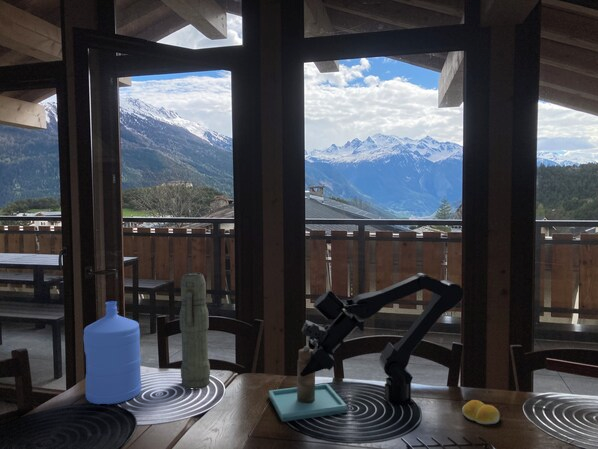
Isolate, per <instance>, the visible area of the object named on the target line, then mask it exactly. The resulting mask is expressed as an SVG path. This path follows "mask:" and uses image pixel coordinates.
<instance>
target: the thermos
mask: <svg viewBox="0 0 598 449" xmlns="http://www.w3.org/2000/svg"><path fill="white" fill-rule="evenodd" d="M180 297H181V298H180V300H181V305H180V306H181V307H180V310H179V329H180V332H181V355H182V356H181V357H182V358H181V359H182V363H181V366H180V378H181V386H183V387H182V388H184V387H185V388H184V389H186V388H194V389H193V390H197V389H196V388H200V389H203V388H202V387H204V388H206V387H208V386H209V385H210V375H211V364H210V360H209V348H208V346H209V345H208V330H209V327H210V326H209V323H210V322H209V321H210V320H209V319H210V318H209V310H208V306H207V302H206V301H207V300H206V299H207V282H206V279H205V276H204V274H203V273H201V272H187V273H185V274H184V275H183V276H182V278H181V282H180ZM208 384H209V385H208ZM207 385H208V386H207ZM205 386H206V387H205Z"/></svg>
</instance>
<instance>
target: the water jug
mask: <svg viewBox="0 0 598 449" xmlns="http://www.w3.org/2000/svg"><path fill="white" fill-rule="evenodd" d="M104 304H105V316H103V317H102V318H100V319H98V320H96V321H94V322H92V323H91V324H89V325H87V326H85V328H84V329H83V338H82V339H83V346H84V354H85V368H86V374H85V391H84V392H85V399H86V400H87V401H88V402H89V403H91V404H95V405H100V404H107V405H113V404H114V405H115V404H120V403H125V402H127V401H129V400H132V399H133V398H136V397H137V396H138V395H139V394H140V393H141V391H142V379H141V378H142V377H141V374H142V373H141V364H142V363H141V362H142V359H141V357H142V356H141V348H140V347H141V345H140V344H141V343H140V342H141V340H140V339H141V331H140V330H141V329H140V324H139V322H138V321H137V320H133V319H130V318H127V317H124V316H121V315H118V306H117V304H118V301H115V300H111V301H106V302H105V303H104Z"/></svg>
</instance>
